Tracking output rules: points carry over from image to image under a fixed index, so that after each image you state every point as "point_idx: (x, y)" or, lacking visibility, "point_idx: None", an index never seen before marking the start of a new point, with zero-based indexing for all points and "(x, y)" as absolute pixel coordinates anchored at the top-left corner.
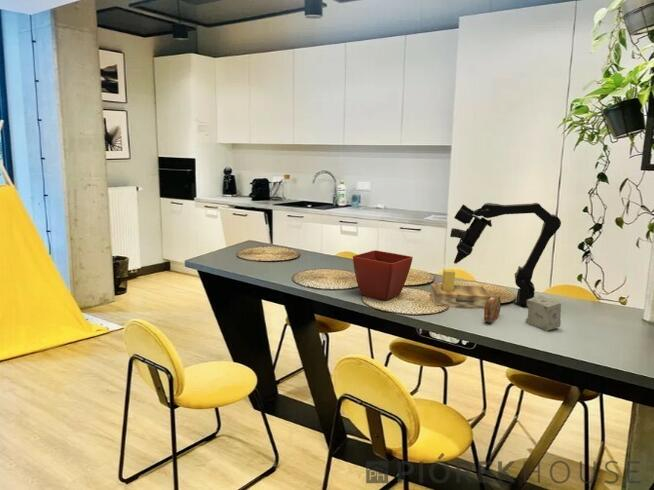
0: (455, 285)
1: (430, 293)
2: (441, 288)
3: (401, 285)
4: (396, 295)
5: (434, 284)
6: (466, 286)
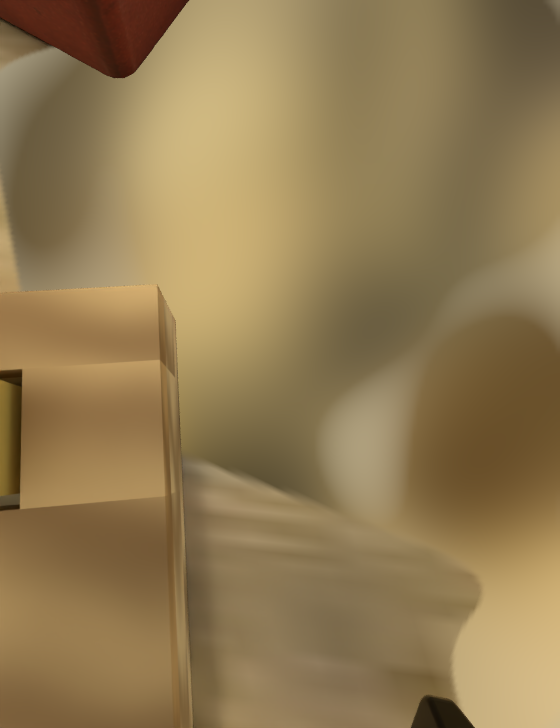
0: (147, 564)
1: (172, 316)
2: (27, 384)
3: (39, 2)
4: (57, 47)
5: (134, 315)
6: (133, 712)
